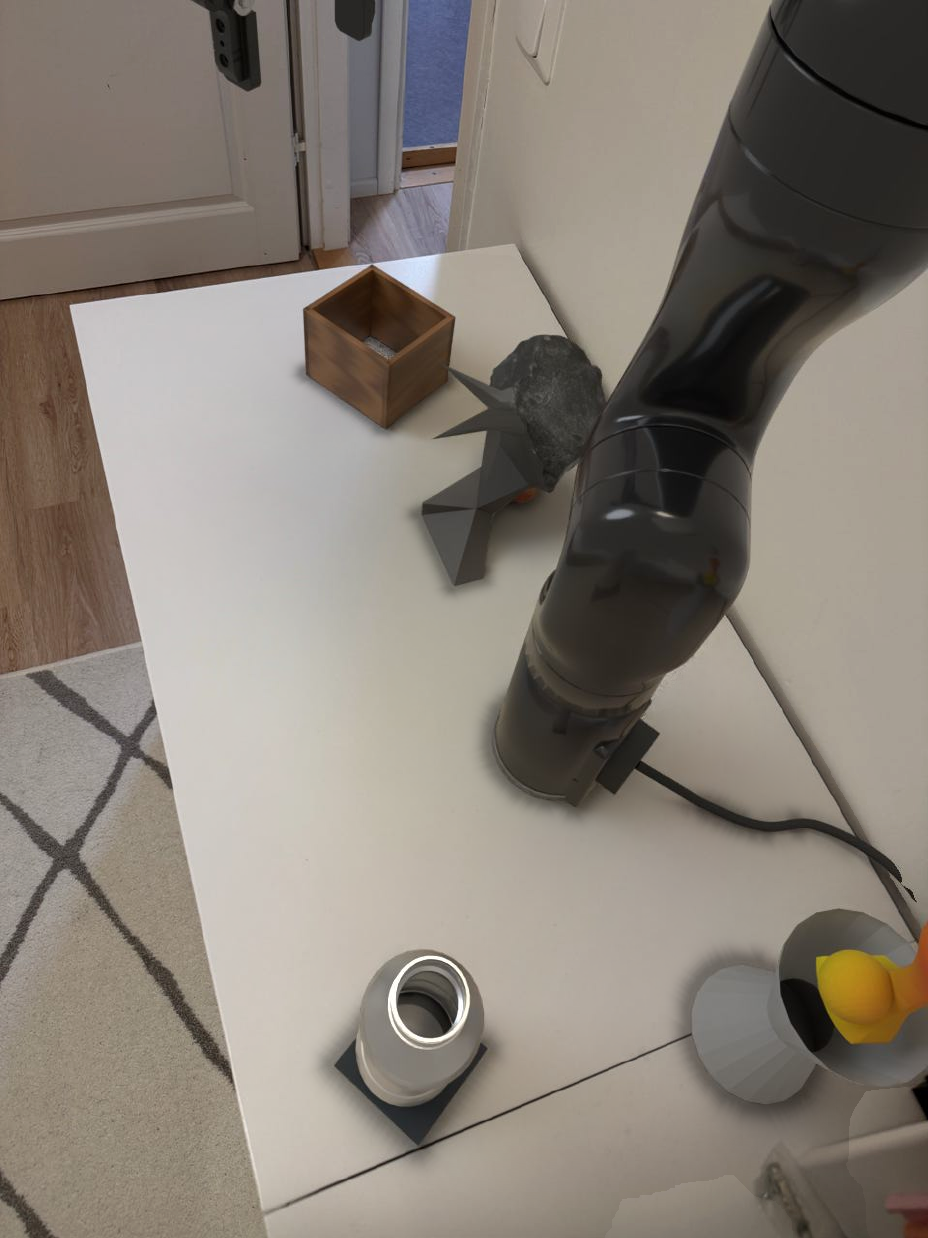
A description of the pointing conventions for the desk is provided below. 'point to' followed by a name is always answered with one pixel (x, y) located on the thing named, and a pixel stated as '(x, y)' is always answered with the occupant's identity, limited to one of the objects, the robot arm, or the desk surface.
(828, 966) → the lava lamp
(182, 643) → the desk surface
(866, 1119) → the desk surface
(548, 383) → the grey spiky piece
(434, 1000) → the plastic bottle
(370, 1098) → the mat
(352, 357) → the crate
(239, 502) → the desk surface
